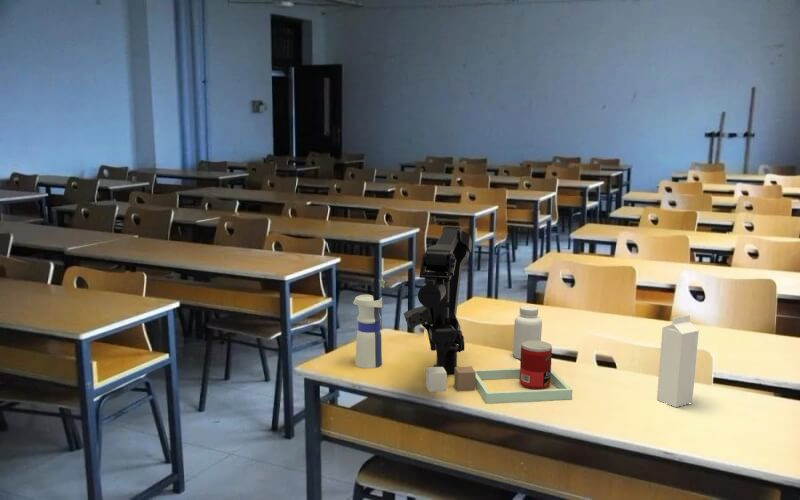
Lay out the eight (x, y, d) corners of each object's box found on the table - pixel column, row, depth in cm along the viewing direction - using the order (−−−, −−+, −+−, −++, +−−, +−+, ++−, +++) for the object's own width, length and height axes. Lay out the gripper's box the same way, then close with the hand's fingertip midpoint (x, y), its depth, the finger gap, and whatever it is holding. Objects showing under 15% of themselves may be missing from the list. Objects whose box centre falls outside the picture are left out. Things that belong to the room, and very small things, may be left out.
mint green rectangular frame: (470, 378, 195) (470, 370, 194) (548, 375, 198) (549, 366, 197) (486, 403, 178) (486, 393, 178) (571, 399, 181) (572, 389, 181)
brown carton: (454, 385, 190) (454, 367, 189) (470, 384, 191) (471, 366, 190) (457, 391, 186) (458, 373, 185) (475, 390, 186) (475, 372, 186)
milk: (692, 403, 179) (700, 318, 175) (675, 408, 176) (683, 321, 172) (672, 395, 184) (680, 312, 180) (655, 399, 181) (663, 315, 177)
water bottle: (365, 356, 212) (365, 273, 207) (389, 362, 207) (389, 277, 202) (347, 364, 205) (347, 278, 201) (371, 370, 200) (371, 282, 196)
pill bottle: (542, 361, 209) (545, 311, 207) (514, 360, 209) (516, 310, 207) (537, 352, 217) (540, 304, 214) (511, 352, 217) (513, 303, 214)
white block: (425, 385, 190) (426, 367, 189) (442, 384, 190) (443, 366, 189) (428, 392, 185) (429, 373, 184) (446, 391, 186) (446, 372, 185)
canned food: (550, 391, 187) (552, 350, 185) (518, 388, 188) (520, 348, 186) (550, 380, 194) (552, 341, 192) (520, 378, 195) (521, 339, 193)
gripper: (401, 289, 191) (400, 346, 194) (412, 308, 173) (411, 370, 176) (442, 288, 193) (441, 344, 196) (457, 306, 175) (456, 368, 178)
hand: (436, 356), depth 186 cm, fingers open, 9 cm apart
